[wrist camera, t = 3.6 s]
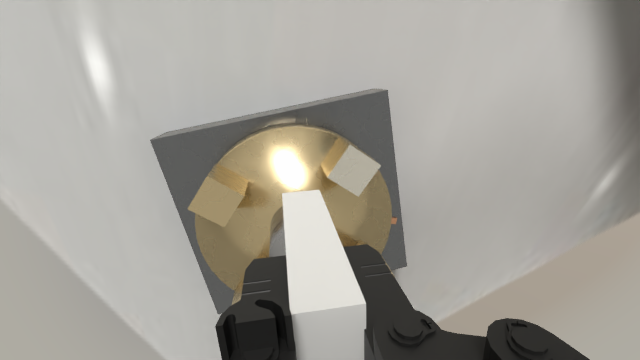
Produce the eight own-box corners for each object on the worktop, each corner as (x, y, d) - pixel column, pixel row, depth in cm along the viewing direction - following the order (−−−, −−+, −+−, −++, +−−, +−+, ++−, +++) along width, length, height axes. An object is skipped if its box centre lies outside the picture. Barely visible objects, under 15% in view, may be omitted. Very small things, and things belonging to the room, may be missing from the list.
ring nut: (175, 146, 27) (136, 173, 19) (369, 105, 28) (403, 115, 21) (233, 304, 33) (220, 371, 26) (390, 264, 34) (422, 317, 27)
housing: (165, 132, 31) (149, 140, 27) (374, 88, 32) (388, 90, 28) (223, 290, 37) (217, 315, 33) (394, 248, 39) (407, 267, 35)
